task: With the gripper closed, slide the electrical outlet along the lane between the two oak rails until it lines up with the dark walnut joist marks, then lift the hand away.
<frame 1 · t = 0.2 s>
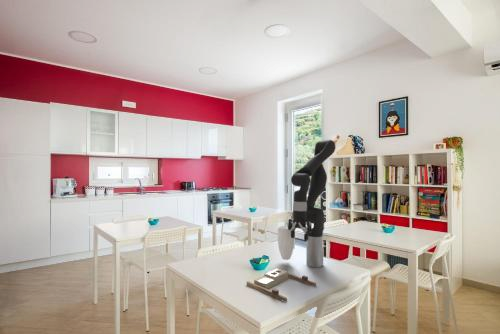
hand: (299, 239, 154), 17 cm above the table, tool pointing down, fingers open, 8 cm apart
electrical outlet: (271, 283, 139), on the table
cup: (286, 263, 166), on the table
joist track: (281, 285, 135), on the table
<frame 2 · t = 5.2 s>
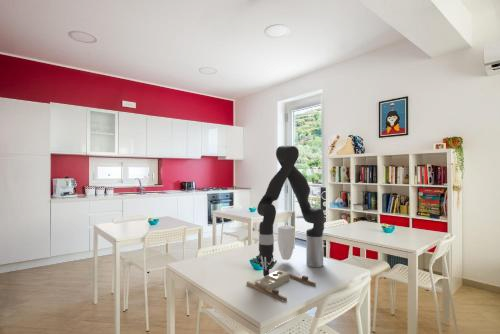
hand: (266, 276, 142), 2 cm above the table, tool pointing down, fingers closed
electrical outlet: (272, 284, 137), on the table, touching gripper
everything else where it was.
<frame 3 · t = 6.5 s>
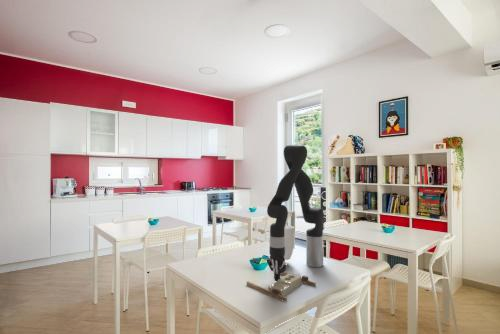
hand: (277, 280, 137), 2 cm above the table, tool pointing down, fingers closed
electrical outlet: (285, 289, 132), on the table, touching gripper
everything else where it was.
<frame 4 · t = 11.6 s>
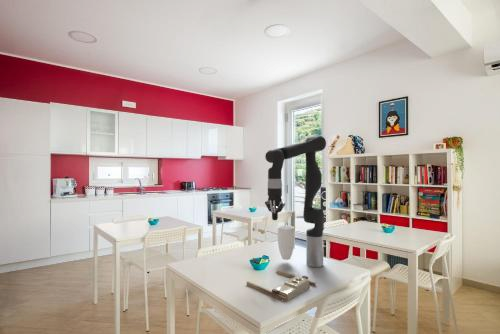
hand: (274, 219, 149), 29 cm above the table, tool pointing down, fingers closed
electrical outlet: (292, 292, 129), on the table
everything else where it was.
at the end: electrical outlet 1.8 cm from the target spot, on the table; electrical outlet tilted 0°; the gripper is holding nothing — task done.
